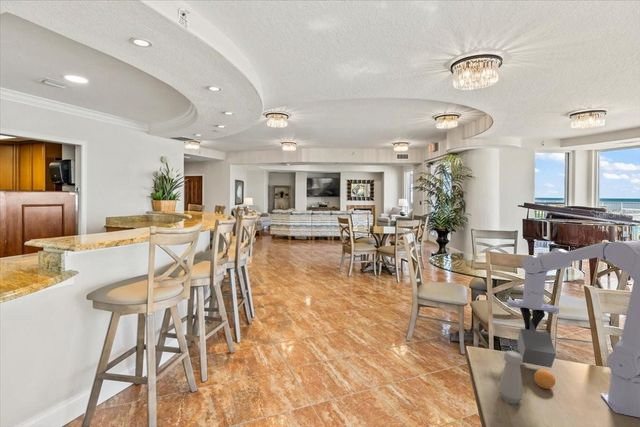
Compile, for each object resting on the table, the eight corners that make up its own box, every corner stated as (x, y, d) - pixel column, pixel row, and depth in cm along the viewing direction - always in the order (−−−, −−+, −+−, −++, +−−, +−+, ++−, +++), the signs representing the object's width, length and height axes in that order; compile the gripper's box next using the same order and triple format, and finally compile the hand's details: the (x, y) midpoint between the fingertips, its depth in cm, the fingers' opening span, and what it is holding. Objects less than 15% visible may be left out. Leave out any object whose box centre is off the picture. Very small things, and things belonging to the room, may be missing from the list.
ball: (551, 384, 97) (552, 367, 96) (557, 394, 92) (558, 377, 91) (531, 380, 98) (532, 364, 98) (536, 390, 93) (537, 373, 93)
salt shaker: (525, 408, 86) (530, 360, 84) (501, 404, 87) (505, 357, 86) (517, 394, 91) (521, 349, 90) (494, 391, 92) (498, 346, 91)
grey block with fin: (551, 367, 101) (556, 354, 98) (521, 362, 104) (525, 348, 101) (540, 332, 113) (544, 318, 110) (514, 328, 115) (517, 315, 112)
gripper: (555, 290, 111) (551, 329, 112) (506, 284, 116) (503, 322, 117) (562, 297, 105) (558, 338, 106) (511, 290, 109) (507, 330, 111)
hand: (530, 330), depth 111 cm, fingers closed on grey block with fin
